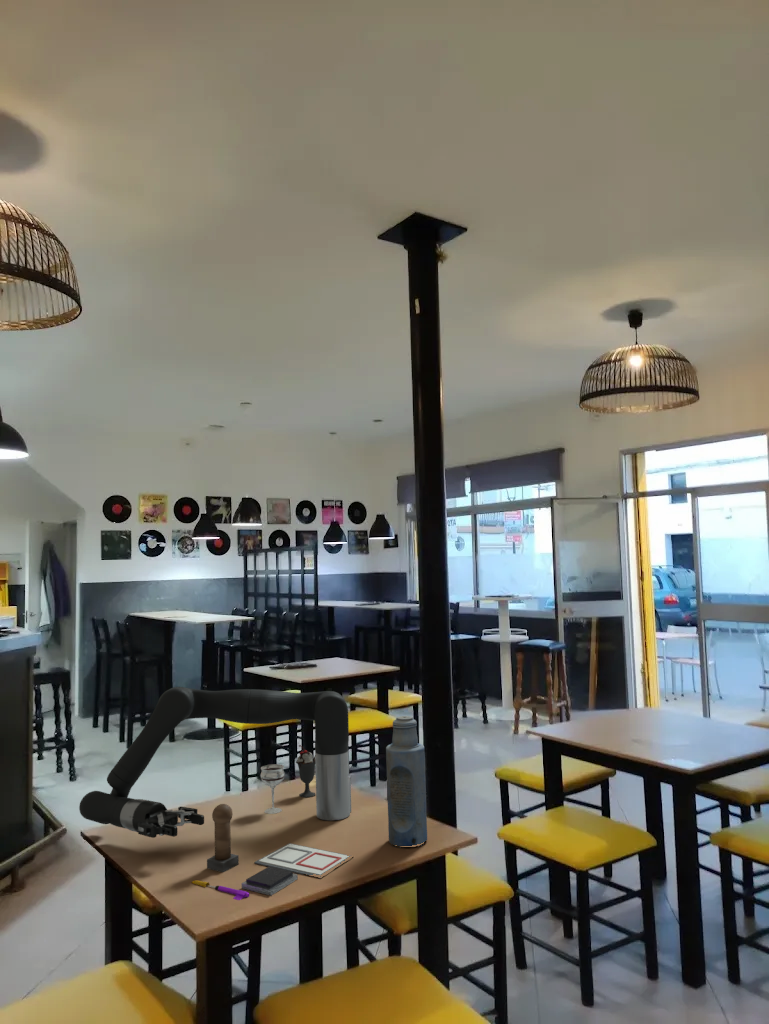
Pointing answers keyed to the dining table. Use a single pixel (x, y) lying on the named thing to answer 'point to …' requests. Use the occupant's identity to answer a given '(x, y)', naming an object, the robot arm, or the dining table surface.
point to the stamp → (222, 840)
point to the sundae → (306, 771)
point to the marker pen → (225, 890)
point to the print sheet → (302, 859)
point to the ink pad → (269, 880)
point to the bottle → (406, 785)
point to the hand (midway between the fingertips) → (190, 825)
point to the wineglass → (272, 781)
